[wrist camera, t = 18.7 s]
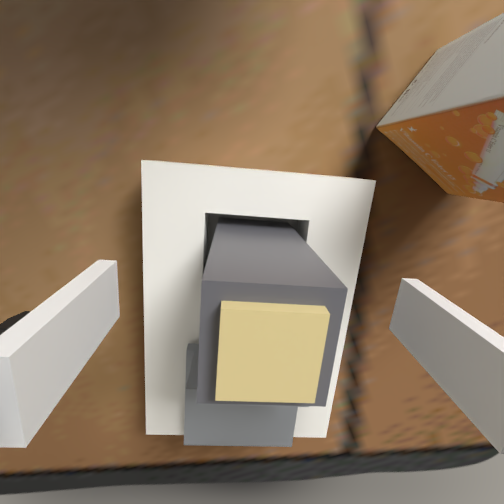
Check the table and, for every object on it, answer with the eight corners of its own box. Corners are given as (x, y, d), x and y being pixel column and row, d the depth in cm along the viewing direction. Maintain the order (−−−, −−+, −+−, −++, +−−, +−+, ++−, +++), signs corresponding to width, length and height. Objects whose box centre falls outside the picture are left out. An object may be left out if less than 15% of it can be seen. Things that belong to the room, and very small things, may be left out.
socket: (158, 160, 21) (141, 160, 17) (351, 177, 22) (376, 180, 18) (158, 395, 27) (146, 434, 23) (313, 399, 28) (325, 437, 24)
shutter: (188, 343, 20) (176, 388, 16) (303, 347, 21) (320, 392, 17) (185, 435, 23) (174, 496, 19) (289, 437, 23) (301, 496, 19)
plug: (215, 282, 23) (194, 416, 11) (219, 217, 21) (199, 287, 9) (280, 286, 23) (330, 419, 11) (288, 222, 22) (354, 295, 10)
